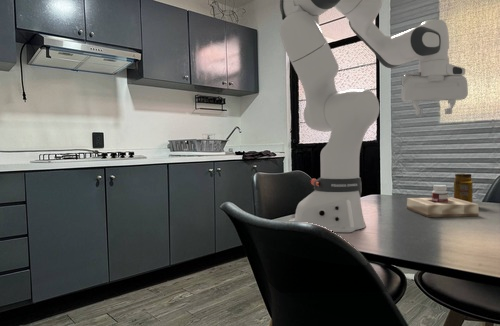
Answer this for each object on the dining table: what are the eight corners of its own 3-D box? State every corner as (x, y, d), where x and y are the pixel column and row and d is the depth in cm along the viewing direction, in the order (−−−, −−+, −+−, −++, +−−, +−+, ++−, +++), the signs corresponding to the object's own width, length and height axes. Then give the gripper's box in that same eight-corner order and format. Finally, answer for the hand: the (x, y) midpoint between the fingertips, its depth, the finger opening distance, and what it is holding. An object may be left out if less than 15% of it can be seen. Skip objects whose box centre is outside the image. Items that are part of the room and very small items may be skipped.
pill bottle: (429, 208, 122) (429, 184, 121) (443, 208, 122) (443, 184, 121) (436, 211, 117) (436, 186, 117) (450, 210, 117) (450, 186, 116)
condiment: (476, 205, 131) (476, 173, 131) (470, 208, 125) (470, 175, 125) (454, 203, 136) (454, 172, 136) (447, 206, 130) (447, 174, 130)
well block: (427, 217, 112) (427, 205, 112) (407, 208, 128) (406, 198, 128) (478, 216, 111) (478, 204, 111) (451, 207, 127) (451, 197, 127)
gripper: (405, 71, 111) (405, 114, 112) (470, 68, 110) (470, 112, 111) (397, 75, 117) (397, 116, 118) (459, 73, 116) (459, 114, 117)
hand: (433, 114), depth 114 cm, fingers open, 8 cm apart
